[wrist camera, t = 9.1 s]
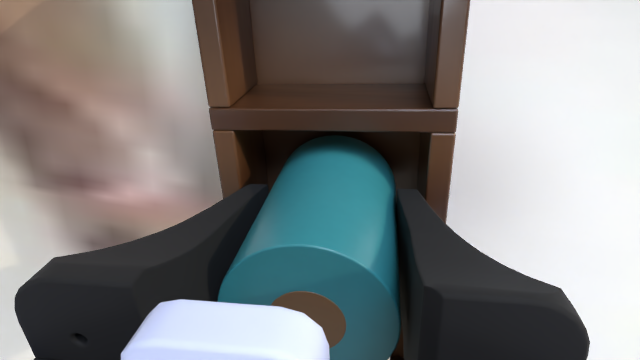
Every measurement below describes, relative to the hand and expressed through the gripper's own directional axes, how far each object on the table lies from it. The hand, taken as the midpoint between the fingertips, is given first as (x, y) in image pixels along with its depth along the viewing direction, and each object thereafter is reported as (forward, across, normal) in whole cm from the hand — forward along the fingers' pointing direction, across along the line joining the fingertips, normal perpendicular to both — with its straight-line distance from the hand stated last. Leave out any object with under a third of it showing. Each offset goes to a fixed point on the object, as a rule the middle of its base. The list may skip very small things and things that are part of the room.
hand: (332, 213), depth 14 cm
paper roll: (+2, 0, 0) cm, 2 cm away
